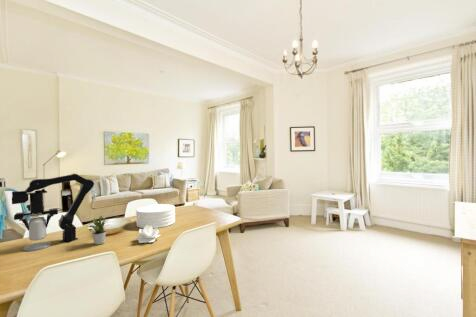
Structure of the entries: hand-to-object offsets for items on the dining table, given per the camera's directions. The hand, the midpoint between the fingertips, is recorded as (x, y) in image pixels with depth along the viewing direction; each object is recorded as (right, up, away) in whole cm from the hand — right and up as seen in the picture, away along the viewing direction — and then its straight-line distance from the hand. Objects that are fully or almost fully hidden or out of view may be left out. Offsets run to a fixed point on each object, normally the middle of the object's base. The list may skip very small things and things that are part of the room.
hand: (37, 228), depth 134 cm
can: (0, -6, 0) cm, 6 cm away
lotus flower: (+59, -10, +10) cm, 61 cm away
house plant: (+31, -10, +6) cm, 33 cm away
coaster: (0, -10, 0) cm, 10 cm away
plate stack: (+51, -10, +47) cm, 70 cm away
